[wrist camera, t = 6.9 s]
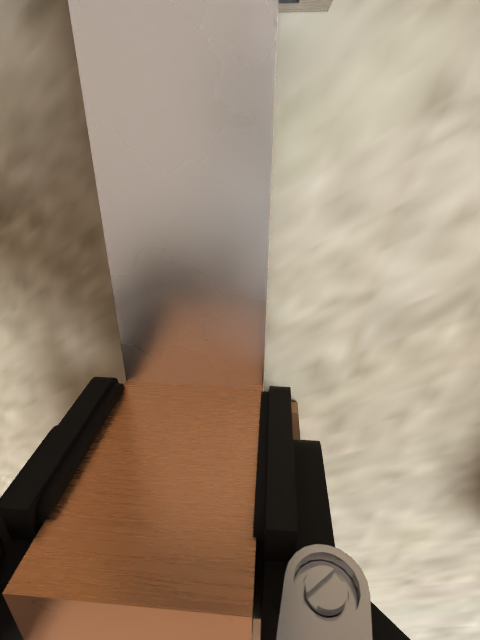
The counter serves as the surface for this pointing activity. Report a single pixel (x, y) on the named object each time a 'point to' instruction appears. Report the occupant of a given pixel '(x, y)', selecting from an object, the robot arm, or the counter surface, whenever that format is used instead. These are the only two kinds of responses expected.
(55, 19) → the counter surface
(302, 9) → the sleeve
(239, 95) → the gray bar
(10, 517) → the robot arm
